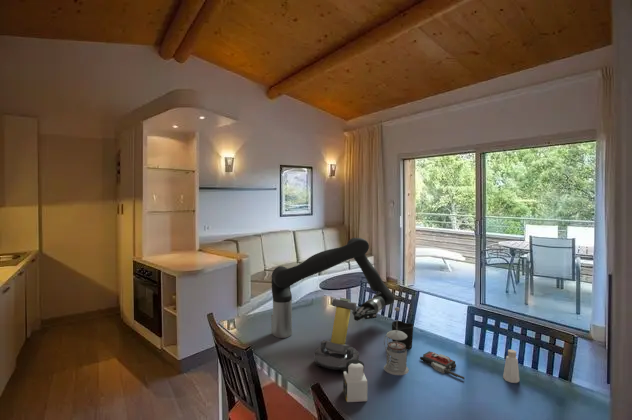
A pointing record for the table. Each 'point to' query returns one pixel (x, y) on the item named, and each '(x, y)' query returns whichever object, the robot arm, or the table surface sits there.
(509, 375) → the pepper shaker
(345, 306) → the yellow mallet
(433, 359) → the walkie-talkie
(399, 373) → the french press
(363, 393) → the medicine bottle
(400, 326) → the pen holder
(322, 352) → the dark grey round stand
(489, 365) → the table surface
